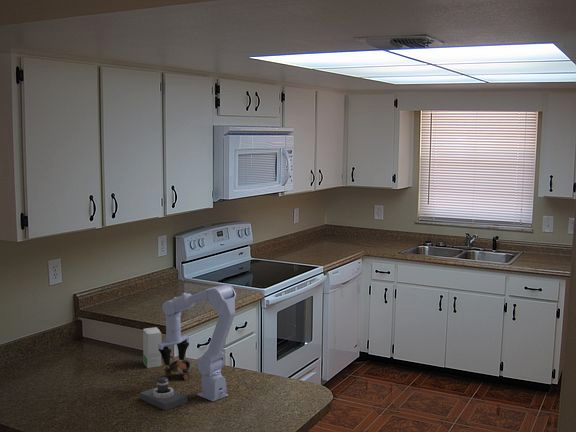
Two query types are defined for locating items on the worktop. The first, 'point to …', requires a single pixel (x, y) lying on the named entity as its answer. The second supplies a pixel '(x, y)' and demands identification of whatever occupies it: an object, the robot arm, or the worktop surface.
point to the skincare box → (151, 347)
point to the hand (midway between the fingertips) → (174, 362)
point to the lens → (162, 385)
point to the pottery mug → (175, 366)
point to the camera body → (163, 398)
